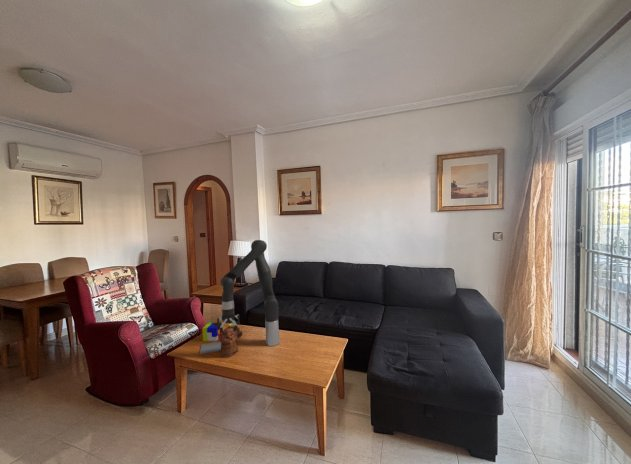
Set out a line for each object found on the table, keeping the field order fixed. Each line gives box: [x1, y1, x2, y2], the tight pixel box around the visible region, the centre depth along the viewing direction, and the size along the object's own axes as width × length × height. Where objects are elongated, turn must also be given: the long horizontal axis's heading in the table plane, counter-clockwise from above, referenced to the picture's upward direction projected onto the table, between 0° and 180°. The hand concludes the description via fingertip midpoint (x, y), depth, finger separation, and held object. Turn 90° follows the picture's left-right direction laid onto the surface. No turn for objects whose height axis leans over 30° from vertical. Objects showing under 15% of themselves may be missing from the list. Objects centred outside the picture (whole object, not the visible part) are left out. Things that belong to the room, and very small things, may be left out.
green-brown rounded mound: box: [227, 322, 243, 339], centre depth 195 cm, size 17×16×10 cm
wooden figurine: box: [219, 326, 239, 358], centre depth 168 cm, size 12×6×18 cm, turn 153°
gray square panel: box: [199, 341, 222, 356], centre depth 176 cm, size 14×13×1 cm
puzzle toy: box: [202, 322, 223, 342], centre depth 192 cm, size 10×10×10 cm
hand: (228, 331), depth 167 cm, fingers closed on wooden figurine, 7 cm apart
